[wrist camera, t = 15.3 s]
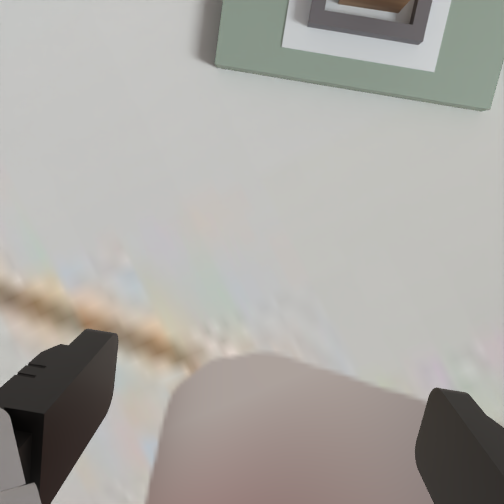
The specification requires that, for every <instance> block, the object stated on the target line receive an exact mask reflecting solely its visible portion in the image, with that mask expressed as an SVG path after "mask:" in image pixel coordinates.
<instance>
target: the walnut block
mask: <svg viewBox="0 0 504 504" xmlns="http://www.w3.org/2000/svg"><path fill="white" fill-rule="evenodd" d="M409 1H410V0H339V1H338V4H340V5H347V6H353V7H360V8H366V9H373V10H379V11H386V12H393V13H399V12H400V11H401V10H402V8H403V7H404V6H405V5H406V4H407V3H408V2H409Z"/></svg>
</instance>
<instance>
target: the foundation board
mask: <svg viewBox="0 0 504 504" xmlns="http://www.w3.org/2000/svg"><path fill="white" fill-rule="evenodd" d="M338 1H339V0H223V4H222V12H221V19H220V27H219V34H218V42H217V49H216V57H215V65H216V67H217V68H222V69H228V70H234V71H240V72H246V73H252V74H258V75H265V76H271V77H277V78H283V79H289V80H295V81H301V82H307V83H313V84H319V85H325V86H331V87H337V88H343V89H349V90H355V91H361V92H367V93H373V94H379V95H385V96H392V97H398V98H404V99H410V100H416V101H422V102H428V103H434V104H440V105H446V106H452V107H458V108H464V109H470V110H476V111H485V110H490V108H491V104H492V101H493V97H494V93H495V90H496V86H497V82H498V79H499V75H500V71H501V68H502V64H503V60H504V0H410V1H409V2H408V3H407V4H406V5H405V6H404V7H403V8H402V10H401V11H400V12H399V13H393V12H386V11H379V10H373V9H366V8H360V7H353V6H347V5H340V4H338Z"/></svg>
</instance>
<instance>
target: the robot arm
mask: <svg viewBox="0 0 504 504" xmlns="http://www.w3.org/2000/svg"><path fill="white" fill-rule="evenodd" d="M117 351H118V335H117V334H116V333H110V332H104V331H98V330H92V329H86V330H84V331H83V332H82V333H81V334H80V335H79V336H78V337H77V338H76V339H75V340H74V341H73V342H72V343H71V344H70V345H63V344H60V345H57V346H55V347H53V348H50V349H48V350H45V351H43V352H41V353H40V354H39V355H38V356H36V357H35V358H34V359H33V360H32V361H31V362H29V364H28V366H27V365H26V366H25V367H24V368H22V369H21V370H20V371H19V372H18V374H17V375H14V376H13V377H12V378H11V379H10V380H9V381H7V382H6V383H5V384H4V385H3V386H2V387H1V388H0V504H51V502H52V500H53V499H54V497H55V496H56V494H57V492H58V491H59V489H60V488H61V486H62V484H63V483H64V481H65V480H66V478H67V476H68V475H69V473H70V472H71V470H72V468H73V467H74V465H75V464H76V462H77V460H78V459H79V457H80V456H81V454H82V453H83V451H84V449H85V448H86V446H87V445H88V443H89V441H90V440H91V438H92V437H93V435H94V433H95V432H96V430H97V429H98V427H99V425H100V424H101V422H102V421H103V419H104V417H105V416H106V414H107V412H108V409H109V407H110V404H111V400H112V396H113V390H114V381H115V371H116V361H117ZM415 459H416V464H417V468H418V470H419V473H420V475H421V476H422V479H423V481H424V483H425V485H426V487H427V489H428V492H429V494H430V496H431V498H432V500H433V502H434V504H504V428H503V427H502V426H500V425H499V424H498V423H496V422H495V421H494V420H492V419H491V418H490V417H488V416H487V415H486V414H485V413H484V412H483V411H482V409H481V408H480V407H479V406H478V405H477V403H476V402H475V401H474V400H473V399H472V397H471V396H470V395H469V394H468V393H465V392H459V391H453V390H447V389H441V388H434V389H433V390H432V391H431V393H430V395H429V398H428V401H427V405H426V408H425V412H424V416H423V420H422V423H421V426H420V430H419V434H418V437H417V441H416V446H415Z"/></svg>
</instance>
